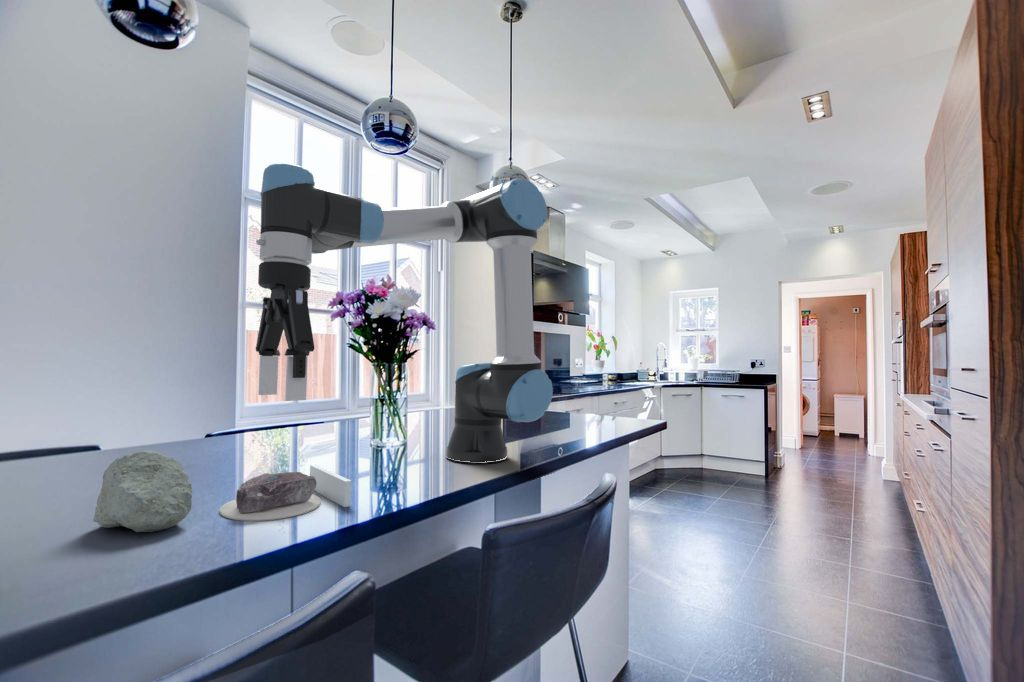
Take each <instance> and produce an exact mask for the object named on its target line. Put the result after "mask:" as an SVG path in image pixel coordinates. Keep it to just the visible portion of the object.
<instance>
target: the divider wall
mask: <svg viewBox="0 0 1024 682" xmlns="http://www.w3.org/2000/svg"><path fill="white" fill-rule="evenodd" d="M309 476H313V477H315V479H316V483H317V484H316V487H315V489H314V491H313V492H316V493H318V494H320V496H321V495H322V497H325V498H327V499H329V500H330V501H332V502H334V503H336V504H338V505H339V506H341V507H343V508H347V507H348V508H349V507H351V503H352V502H351V499H352V498H351V497H352V480H351V479H348V478H346V477H344V476H343V475H340V474H337V473H335V472H333V471H331V470H330V469H329V470H328V469H327V468H324V467H322V466H320V465H317V464H310V465H309Z"/></svg>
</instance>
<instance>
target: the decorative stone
mask: <svg viewBox="0 0 1024 682" xmlns="http://www.w3.org/2000/svg"><path fill="white" fill-rule="evenodd" d="M97 496H98V497H97V499H96V507H95V509H94V515H93V521H94V522H96V523H97V524H98V526H101V527H102V528H109V529H110V528H120V527H125V528H127V529H130V530H132V531H134V532H136V533H143V532H144V533H155V532H158V531H164V530H167V529H169V528H172V527H174V526H176V525H178V524H179V523H181V521H183V520H184V519H185V518H187V516H188V515H189V514H190V512H191V510H192V507H193V506H192V504H193V503H192V502H193V501H192V499H193V487H192V484H191V483H190V481H189V476H188V474H187V473H186V472H185V468H184V465H183V463H181V462H180V461H178V460H176V459H174V458H173V457H170V456H167V455H165V454H164V453H161V452H157V451H153V450H145V449H144V450H143V449H142V450H139V451H137V452H133V453H130V454H127V455H122V456H120V457H117V458H116V459H114V460H113V462H112V463H110V464H109V465H108V467H107V468H106V469H105V470H104V472H103V475H102V486H101V489H100V492H99V495H97Z"/></svg>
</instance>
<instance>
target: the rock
mask: <svg viewBox="0 0 1024 682" xmlns="http://www.w3.org/2000/svg"><path fill="white" fill-rule="evenodd" d="M316 484H317V483H316V479H315V477H313V476H310V475H307V474H305V473H302V472H300V471H294V472H293V471H291V472H290V471H289V472H288V471H287V472H277V473H269V472H266V473H262V474H260V475H258V476H255V477H252V478H250V479H248V480H246V481H245V482H242V483H241V484H240V486H239V488H238V489H236V490H237V491H236V497H235V498H236V503H237V509H239V512H240V514H242V513H244V512H252V511H258V510H260V511H262V510H266V509H269V508H272V507H275V506H284V505H287V504H293V503H295V502H296V503H300V502H306V501H308V500H309V499H310V497H311V495H314V494H313V493H314V492H315V491H314V489H315V487H316Z"/></svg>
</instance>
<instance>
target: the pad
mask: <svg viewBox="0 0 1024 682" xmlns="http://www.w3.org/2000/svg"><path fill="white" fill-rule="evenodd" d="M321 503H322V500H321V497H319V496H318V495H315V494H312V495H311V497H310V499H309V500H308V501H306V502H300V503H296V502H295V503H293V504H287V505H284V506H275V507H272V508H269V509H266V510H262V511H260V510H258V511H252V512H244V513H242V514H240V512H239V509H237V503H236V499H232V500H230V501H228V502H226V503H224V504H223V505H221V507H220V509H219V514H220V516H221V517H223V518H226V519H228V520H229V519H230V520H234V521H244V522H246V521H247V522H249V521H250V522H259V521H273V520H281V519H288V518H292V517H297V516H301V515H305V514H307V513H310V512H312V511H314V510H316V509H317V508H319V507H320V505H321Z"/></svg>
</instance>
